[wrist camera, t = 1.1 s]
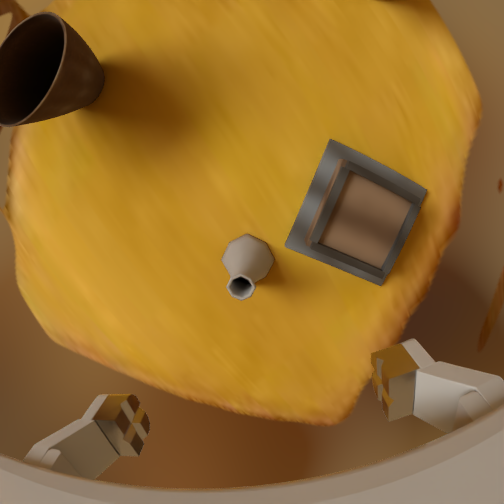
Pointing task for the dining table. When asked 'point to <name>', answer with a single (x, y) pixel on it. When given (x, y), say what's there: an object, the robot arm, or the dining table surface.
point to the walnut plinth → (356, 214)
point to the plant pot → (45, 71)
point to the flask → (246, 264)
